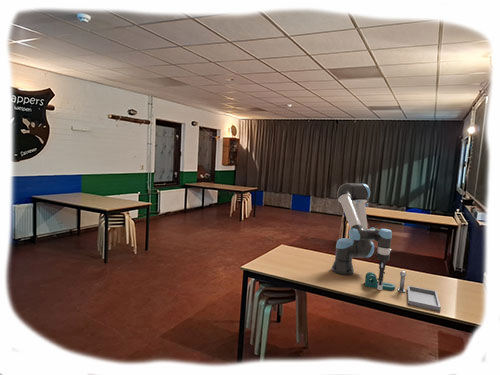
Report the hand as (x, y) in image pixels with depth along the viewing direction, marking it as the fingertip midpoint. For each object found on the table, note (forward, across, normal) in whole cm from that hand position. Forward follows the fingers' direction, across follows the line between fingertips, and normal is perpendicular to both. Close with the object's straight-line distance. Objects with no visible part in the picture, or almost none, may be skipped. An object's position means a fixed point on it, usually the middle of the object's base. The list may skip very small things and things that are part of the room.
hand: (380, 286), depth 211 cm
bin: (0, -7, -24) cm, 25 cm away
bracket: (+1, 0, 0) cm, 1 cm away
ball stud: (0, 0, -12) cm, 13 cm away
